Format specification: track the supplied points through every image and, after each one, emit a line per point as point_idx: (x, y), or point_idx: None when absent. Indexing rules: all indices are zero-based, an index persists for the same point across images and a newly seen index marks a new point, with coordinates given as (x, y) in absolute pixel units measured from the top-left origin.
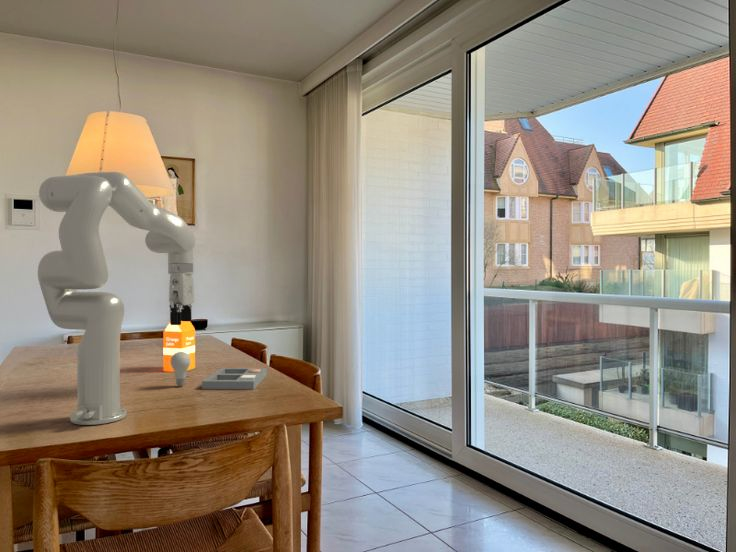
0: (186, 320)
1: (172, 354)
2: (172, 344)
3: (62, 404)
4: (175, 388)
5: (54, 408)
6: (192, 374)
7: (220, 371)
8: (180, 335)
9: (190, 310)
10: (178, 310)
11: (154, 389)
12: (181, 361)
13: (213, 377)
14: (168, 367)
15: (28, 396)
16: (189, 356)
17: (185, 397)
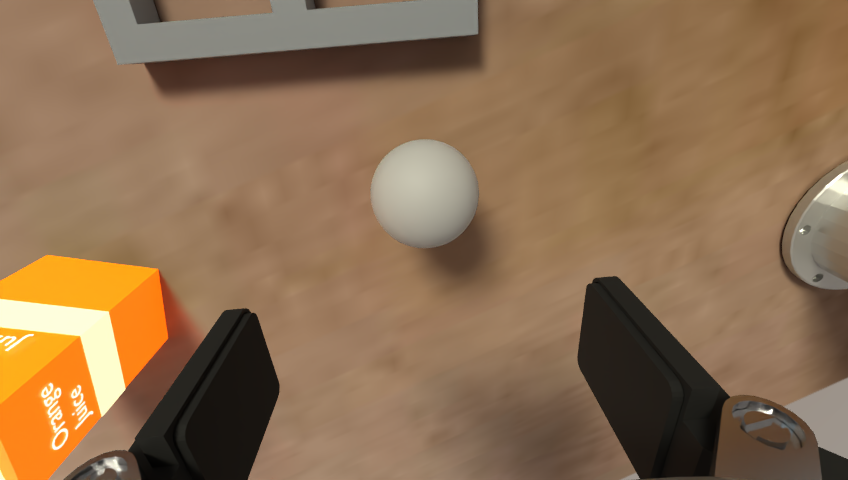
0: (265, 349)
1: (115, 355)
2: (77, 393)
3: None
4: None
5: None
6: (184, 208)
7: (214, 27)
8: (15, 400)
9: (181, 419)
10: (804, 422)
11: (478, 234)
12: (474, 172)
13: (379, 5)
14: (156, 330)
15: (561, 476)
16: (405, 158)
17: (621, 51)
